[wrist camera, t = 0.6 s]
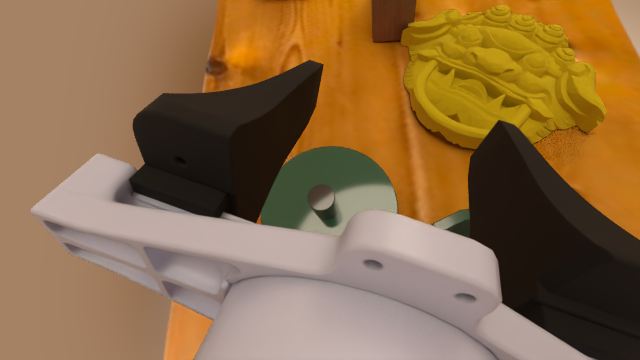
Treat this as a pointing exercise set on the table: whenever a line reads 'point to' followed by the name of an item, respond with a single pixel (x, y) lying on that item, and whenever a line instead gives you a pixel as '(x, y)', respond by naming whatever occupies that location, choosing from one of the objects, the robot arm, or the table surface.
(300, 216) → the lid
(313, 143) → the table surface
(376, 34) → the wooden block
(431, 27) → the door knocker
